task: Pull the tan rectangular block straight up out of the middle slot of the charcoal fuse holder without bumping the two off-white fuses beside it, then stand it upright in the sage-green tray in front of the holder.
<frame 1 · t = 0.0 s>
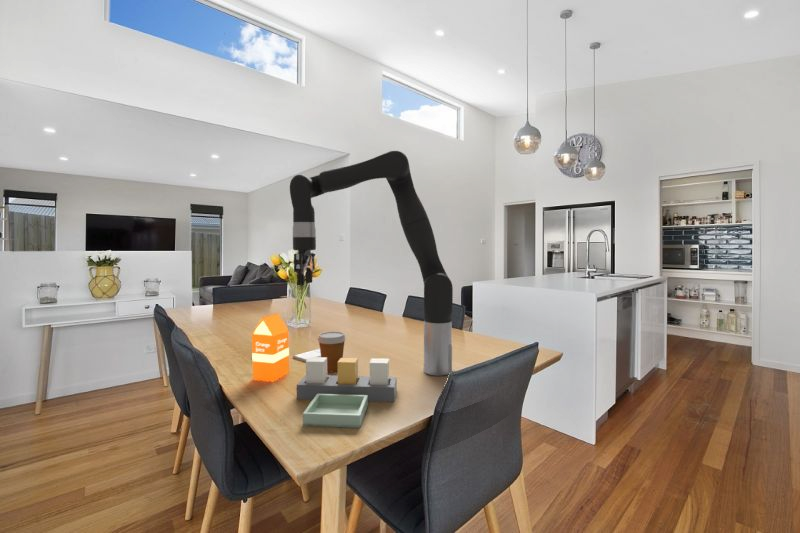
hand: (305, 283, 125), 29 cm above the table, tool pointing down, fingers open, 8 cm apart
fuse holder: (348, 394, 105), on the table
fuse 2: (379, 395, 104), resting in fuse holder
tan rectangular block: (348, 377, 104), in the fuse holder
disposable coffee cup: (332, 369, 126), on the table
tray: (337, 415, 92), on the table
orange juice: (271, 376, 119), on the table
external hard drive: (313, 358, 141), on the table
fuse 1: (317, 393, 105), resting in fuse holder
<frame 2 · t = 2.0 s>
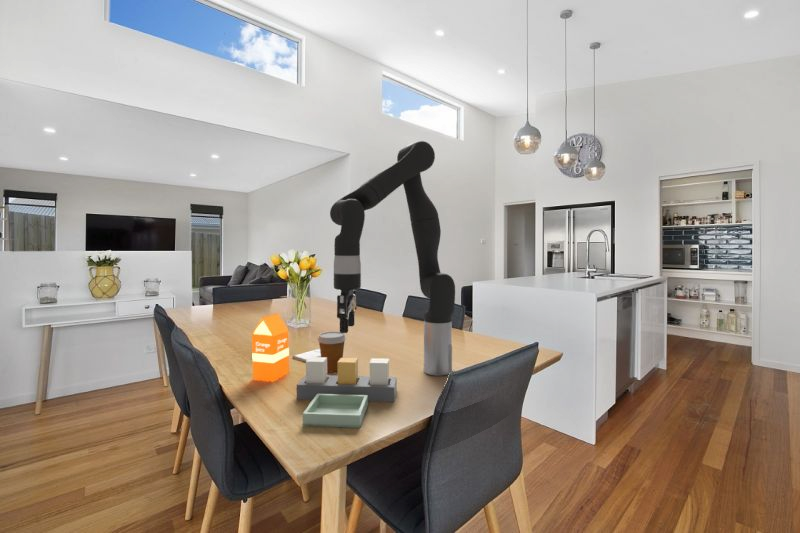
hand: (347, 329, 104), 19 cm above the table, tool pointing down, fingers open, 8 cm apart
nothing on the table moved.
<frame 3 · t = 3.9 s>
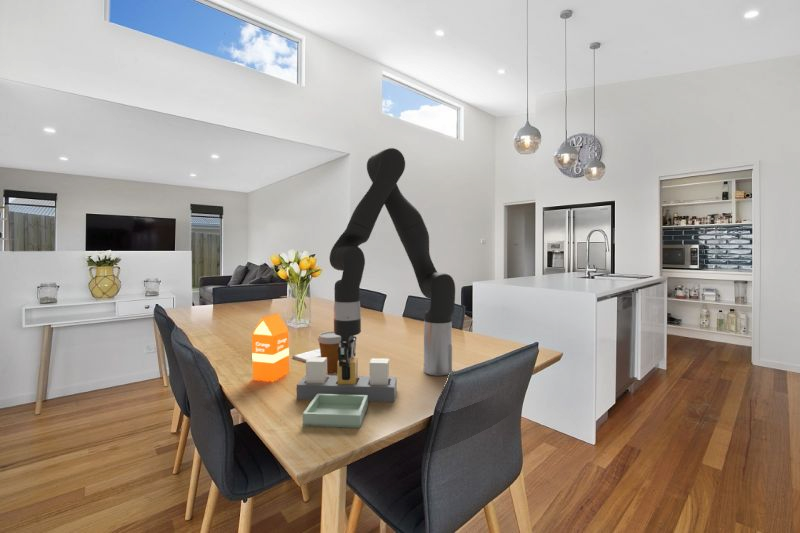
hand: (347, 376, 104), 5 cm above the table, tool pointing down, fingers closed on tan rectangular block, 4 cm apart
tan rectangular block: (347, 377, 104), in the fuse holder, touching gripper
everything else where it was.
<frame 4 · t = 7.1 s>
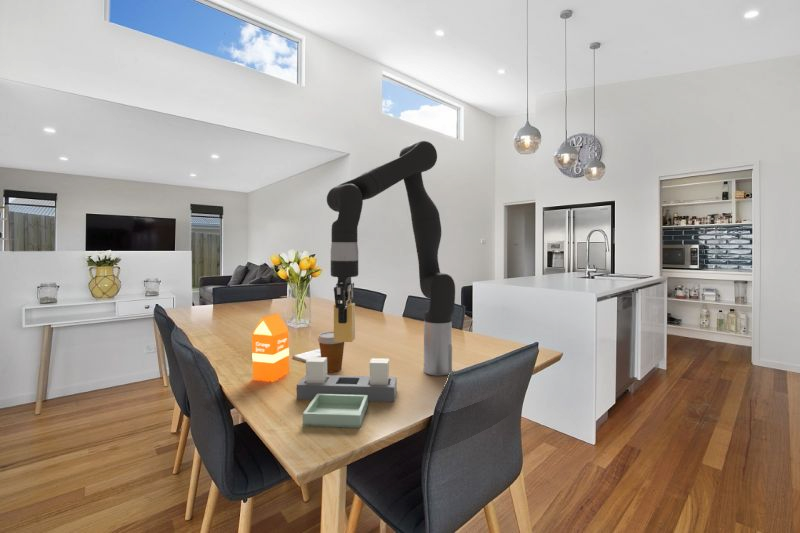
hand: (344, 321, 101), 22 cm above the table, tool pointing down, fingers closed on tan rectangular block, 4 cm apart
tan rectangular block: (344, 322, 101), point 21 cm above the table, touching gripper
everything else where it was.
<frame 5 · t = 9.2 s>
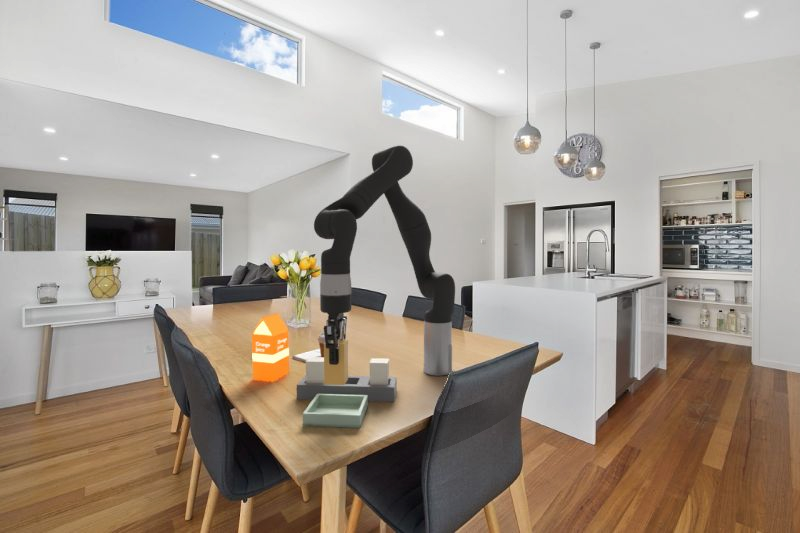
hand: (336, 360, 91), 14 cm above the table, tool pointing down, fingers closed on tan rectangular block, 4 cm apart
tan rectangular block: (336, 361, 91), point 14 cm above the table, touching gripper
everything else where it was.
when the fingers open (7 cm above the table, at t = 10.7 s): tan rectangular block drops 2 cm, resting on tray.
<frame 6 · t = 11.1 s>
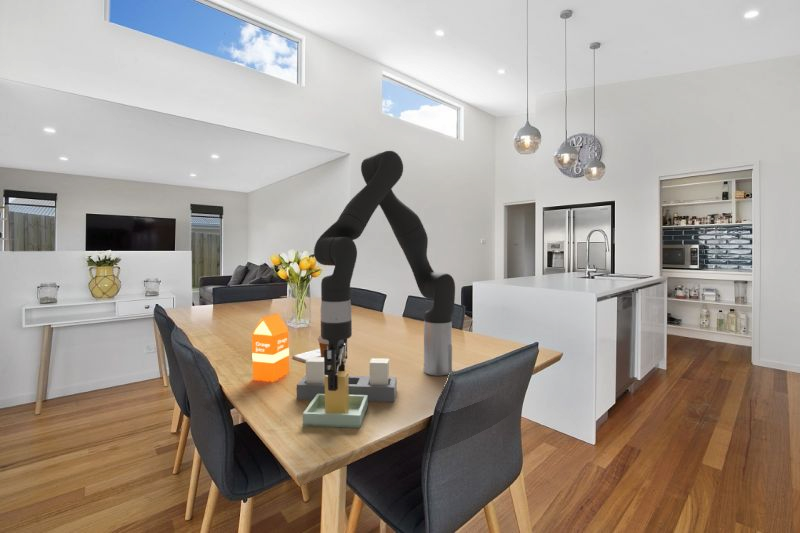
hand: (336, 384, 91), 8 cm above the table, tool pointing down, fingers open, 7 cm apart
tan rectangular block: (336, 393, 91), in the tray, point 6 cm above the table
everything else where it was.
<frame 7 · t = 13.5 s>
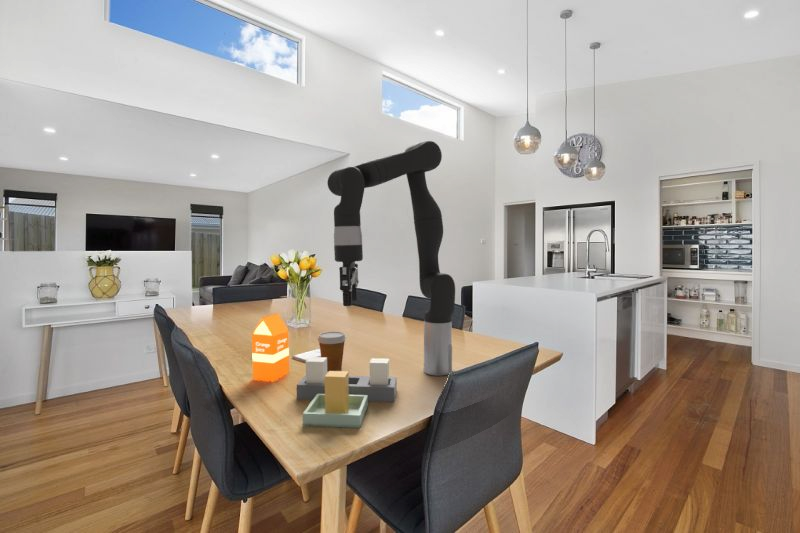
hand: (350, 303, 100), 27 cm above the table, tool pointing down, fingers open, 8 cm apart
nothing on the table moved.
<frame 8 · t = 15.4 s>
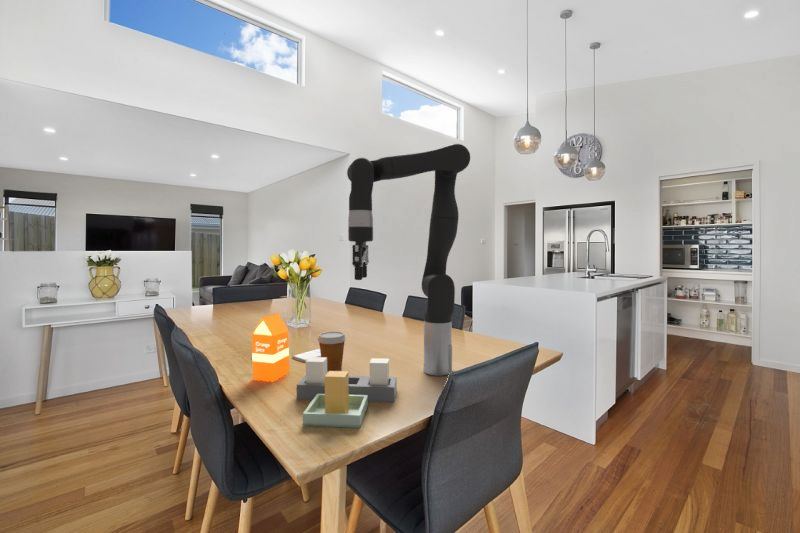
hand: (361, 278, 114), 32 cm above the table, tool pointing down, fingers open, 8 cm apart
nothing on the table moved.
at the end: tan rectangular block inside the target area on the tray (0.0 cm from its centre), point 5.6 cm above the tray's base; fuse 2 moved 0.0 cm from its start; fuse 1 moved 0.0 cm from its start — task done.
